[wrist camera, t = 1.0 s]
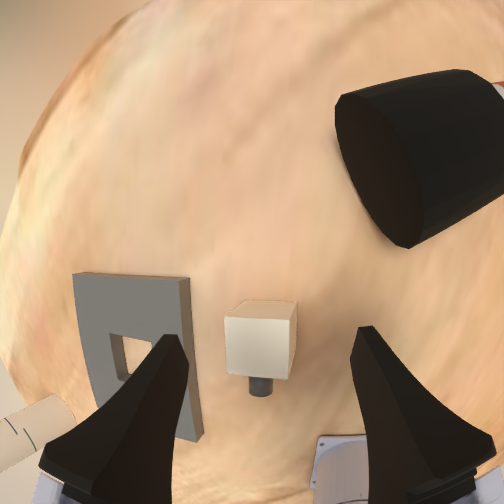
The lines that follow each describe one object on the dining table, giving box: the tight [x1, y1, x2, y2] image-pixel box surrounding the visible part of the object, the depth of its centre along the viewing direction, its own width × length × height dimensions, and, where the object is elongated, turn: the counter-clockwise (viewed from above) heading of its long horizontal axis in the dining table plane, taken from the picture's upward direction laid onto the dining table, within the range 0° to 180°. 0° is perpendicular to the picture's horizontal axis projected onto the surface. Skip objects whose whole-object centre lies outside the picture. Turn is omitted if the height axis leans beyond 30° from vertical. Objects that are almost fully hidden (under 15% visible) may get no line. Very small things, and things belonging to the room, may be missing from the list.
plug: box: [224, 300, 297, 397], centre depth 20 cm, size 6×4×6 cm
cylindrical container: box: [0, 394, 76, 473], centre depth 21 cm, size 7×7×25 cm
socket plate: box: [72, 272, 204, 443], centre depth 26 cm, size 18×15×2 cm
